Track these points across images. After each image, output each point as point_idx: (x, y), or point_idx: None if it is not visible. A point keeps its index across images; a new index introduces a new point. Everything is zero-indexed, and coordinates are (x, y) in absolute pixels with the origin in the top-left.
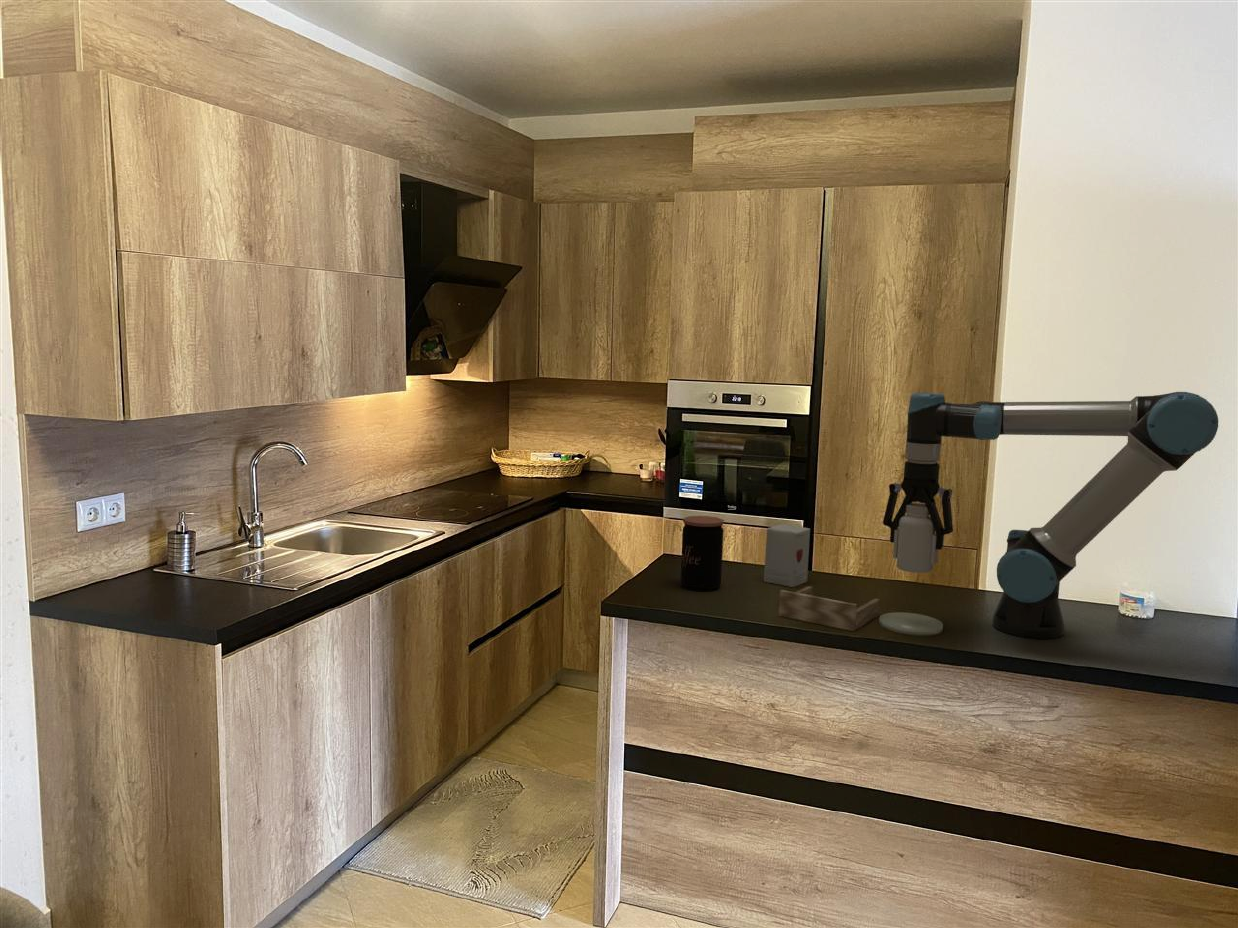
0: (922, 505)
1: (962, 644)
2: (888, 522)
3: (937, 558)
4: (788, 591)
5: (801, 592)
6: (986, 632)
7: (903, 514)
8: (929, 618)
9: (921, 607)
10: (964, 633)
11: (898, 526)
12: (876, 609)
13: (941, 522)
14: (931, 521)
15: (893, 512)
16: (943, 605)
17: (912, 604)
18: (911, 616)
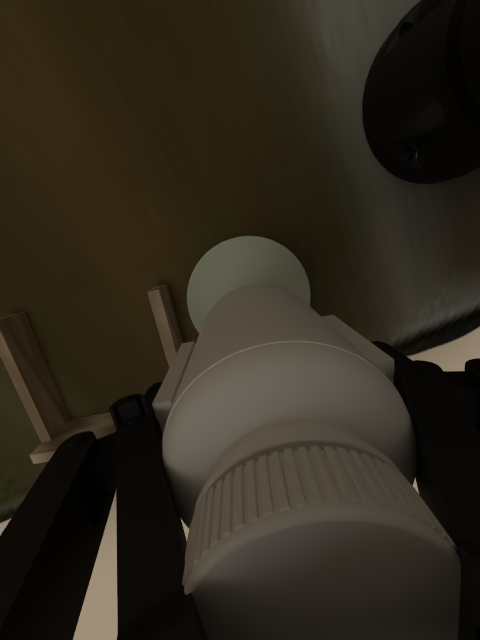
0: (380, 623)
1: (363, 323)
2: (112, 491)
3: (337, 319)
4: (45, 454)
5: (23, 377)
6: (373, 210)
7: (180, 523)
8: (265, 250)
9: (186, 132)
10: (342, 255)
11: (150, 417)
12: (168, 302)
13: (460, 405)
14: (412, 485)
15: (67, 504)
16: (210, 55)
17: (157, 123)
18: (232, 268)
